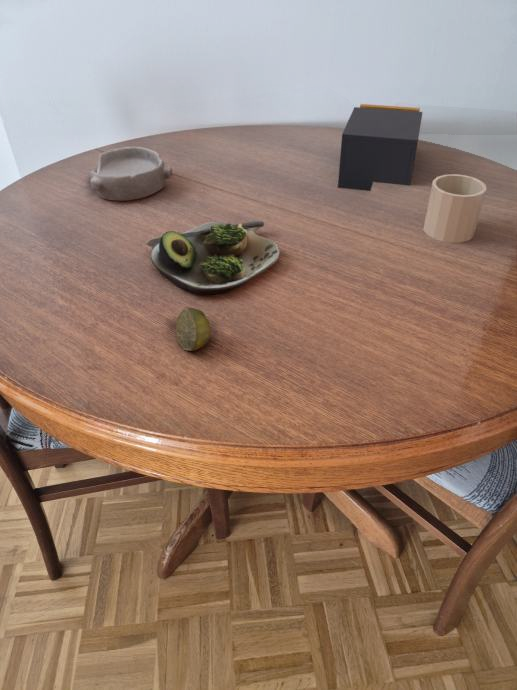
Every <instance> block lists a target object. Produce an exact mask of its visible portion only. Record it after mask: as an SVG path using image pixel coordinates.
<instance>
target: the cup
mask: <svg viewBox="0 0 517 690" xmlns="http://www.w3.org/2000/svg"><path fill="white" fill-rule="evenodd" d="M486 193H487V185H486V183H484V181H482V180H480V179H478V178H476V177H474V176H470V175H465V174H456V173H452V174H450V173H449V174H443V175H440V176H439V175H438V176H436V178H434V179H433V180H432V182H431V188H430V192H429V198H428V203H427V208H426V212H425V217H424V221H423V232H424V233H425V234H426V236H428V237H430V238H431V239H433V240H436V241H439V242H441V243H449V244H457V243H458V244H459V243H460V244H461V243H465V242H468V241H470V240H472V239H473V237H474V236H475V233H476V231H477V225H478V222H479V218H480V215H481V211H482V207H483V204H484V201H485V197H486Z"/></svg>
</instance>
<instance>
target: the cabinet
mask: <svg viewBox="0 0 517 690" xmlns="http://www.w3.org/2000/svg"><path fill="white" fill-rule="evenodd" d="M422 119H423V111H419V112H415V111H401V110H387V109H373V108H360V106H359V107H357V106H354V107H353V110H352V112H351V114H350V115H349V118H348V120H347V123H346V125H345V127H344V130H343V131H342V134H341V145H340V154H339V156H340V157H339V167H338V168H339V169H338V179H337V188H342V189H351V190H361V191H372V187H373V184H374V183H380V184H381V183H382V184H390V185H391V184H392V185H400V186H401V185H402V186H411V184H412V183H411V182H412V178H413V172H414V166H415V159H416V154H417V149H418V144H419V143H418V142H419V137H420V131H421V124H422Z"/></svg>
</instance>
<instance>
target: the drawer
mask: <svg viewBox="0 0 517 690" xmlns="http://www.w3.org/2000/svg"><path fill="white" fill-rule="evenodd" d="M359 108H373V109H387V110H401V111H415V112H421V108H420V107H409V106H396V105H383V104H368V103H360V105H359Z"/></svg>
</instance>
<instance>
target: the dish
mask: <svg viewBox="0 0 517 690" xmlns="http://www.w3.org/2000/svg"><path fill="white" fill-rule="evenodd" d="M96 168H97V169H96V171H95V170H94V169H91V171H90V172H89V173H90V174H89V176H90V180H89V181H90V187H91V188H92V189H93V191H95V193H96V194H97V195H98V197H100V198H102V199H105V200H110V201H119V202H120V201H122V202H123V201H132V200H138V199H142V198H146V197H149V196H151V195H153V194H155V193H157V192H158V191H160V190H161V189H163V188H164V187H165V185H166V182H167V180H170V179H171V178H172V176H173V168H172V166H171V165H168V166H166V165H165V162H164V161H163V158H162V156H161V155H160V153H158V152H156V151H155V150H153V149H150V148H146V147H143V146H125V147H119V148H113V149H110V150H108V151H105V152H102V153H100V154H99V156H98V160H97V167H96Z"/></svg>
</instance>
